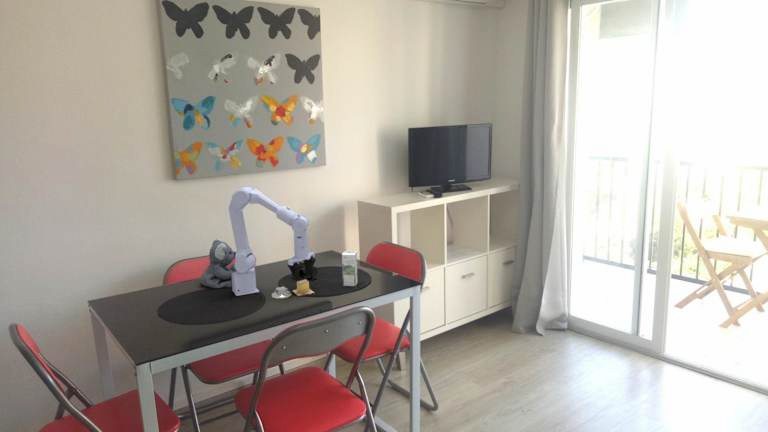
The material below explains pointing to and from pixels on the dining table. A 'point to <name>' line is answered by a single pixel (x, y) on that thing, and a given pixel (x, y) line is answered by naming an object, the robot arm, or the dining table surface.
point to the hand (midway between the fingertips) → (302, 277)
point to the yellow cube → (303, 286)
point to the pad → (302, 293)
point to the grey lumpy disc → (281, 293)
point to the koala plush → (219, 266)
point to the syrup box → (349, 268)
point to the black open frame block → (303, 275)
